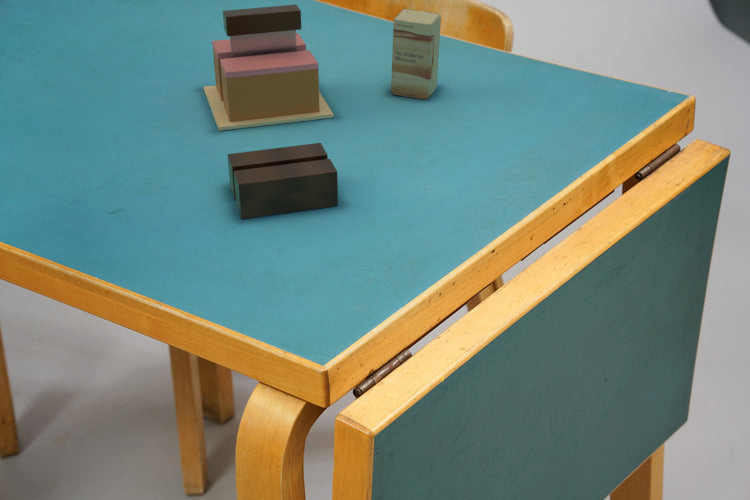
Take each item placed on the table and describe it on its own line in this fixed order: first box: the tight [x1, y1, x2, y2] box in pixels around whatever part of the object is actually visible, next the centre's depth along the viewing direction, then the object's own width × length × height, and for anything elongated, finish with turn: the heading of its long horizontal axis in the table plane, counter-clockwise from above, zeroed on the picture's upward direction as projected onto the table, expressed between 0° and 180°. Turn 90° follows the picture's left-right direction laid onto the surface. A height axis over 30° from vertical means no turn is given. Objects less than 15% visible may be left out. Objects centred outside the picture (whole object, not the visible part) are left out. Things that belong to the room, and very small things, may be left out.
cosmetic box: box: [390, 8, 442, 100], centre depth 124 cm, size 5×4×10 cm
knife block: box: [227, 142, 339, 220], centre depth 101 cm, size 10×7×4 cm
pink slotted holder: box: [203, 32, 335, 132], centre depth 121 cm, size 14×13×7 cm
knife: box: [222, 4, 302, 58], centre depth 120 cm, size 9×2×11 cm, turn 106°
